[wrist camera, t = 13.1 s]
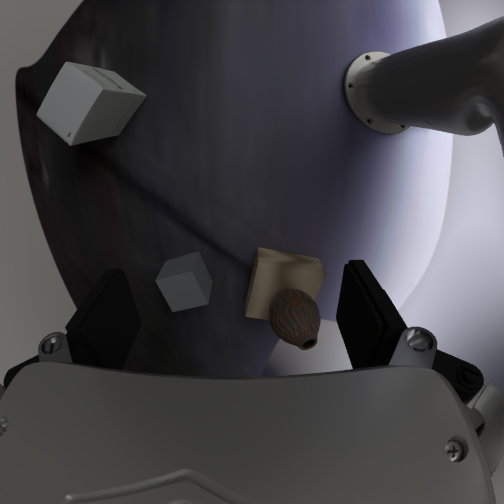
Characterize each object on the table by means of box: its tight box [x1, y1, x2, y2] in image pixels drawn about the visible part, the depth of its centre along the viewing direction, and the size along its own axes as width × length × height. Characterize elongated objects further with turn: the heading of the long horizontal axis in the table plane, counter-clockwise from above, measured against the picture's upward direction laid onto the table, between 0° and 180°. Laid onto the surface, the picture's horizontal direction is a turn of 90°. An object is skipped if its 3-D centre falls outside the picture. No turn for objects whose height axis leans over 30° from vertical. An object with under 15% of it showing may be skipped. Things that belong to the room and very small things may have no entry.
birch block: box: [245, 248, 326, 320], centre depth 43 cm, size 10×10×5 cm
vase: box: [268, 289, 320, 350], centre depth 36 cm, size 7×7×9 cm
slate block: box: [155, 251, 213, 312], centre depth 41 cm, size 6×6×6 cm
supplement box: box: [37, 62, 147, 146], centre depth 25 cm, size 7×7×13 cm
